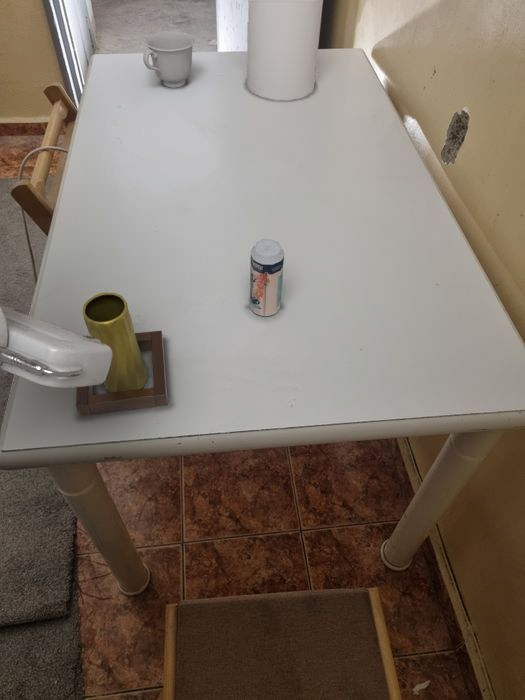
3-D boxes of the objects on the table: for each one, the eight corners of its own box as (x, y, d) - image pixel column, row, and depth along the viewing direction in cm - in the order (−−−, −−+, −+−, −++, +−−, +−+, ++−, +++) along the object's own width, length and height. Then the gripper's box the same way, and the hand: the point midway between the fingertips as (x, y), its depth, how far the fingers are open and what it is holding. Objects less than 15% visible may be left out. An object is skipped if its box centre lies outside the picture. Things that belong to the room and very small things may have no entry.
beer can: (246, 299, 83) (246, 240, 74) (274, 294, 84) (278, 234, 75) (255, 321, 80) (256, 261, 71) (284, 314, 81) (289, 255, 72)
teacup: (132, 87, 130) (125, 44, 122) (173, 68, 137) (169, 26, 130) (167, 102, 125) (162, 58, 117) (207, 81, 133) (205, 39, 125)
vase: (94, 385, 72) (67, 314, 61) (121, 355, 75) (101, 283, 64) (130, 403, 70) (109, 333, 59) (156, 371, 73) (141, 300, 62)
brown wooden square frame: (80, 416, 68) (75, 406, 66) (84, 350, 75) (79, 339, 74) (168, 405, 70) (165, 394, 68) (163, 341, 77) (161, 330, 75)
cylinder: (322, 97, 129) (338, -39, 108) (255, 102, 126) (257, -36, 105) (303, 68, 140) (314, -61, 118) (241, 72, 137) (240, -59, 115)
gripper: (65, 338, 39) (149, 334, 52) (-139, 261, 43) (-13, 275, 57) (45, 416, 40) (132, 392, 53) (-154, 332, 44) (-26, 330, 58)
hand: (56, 331), depth 55 cm, fingers open, 8 cm apart
